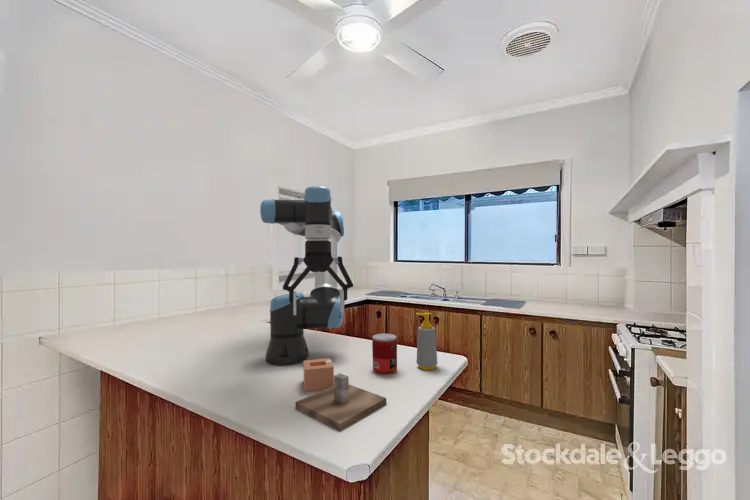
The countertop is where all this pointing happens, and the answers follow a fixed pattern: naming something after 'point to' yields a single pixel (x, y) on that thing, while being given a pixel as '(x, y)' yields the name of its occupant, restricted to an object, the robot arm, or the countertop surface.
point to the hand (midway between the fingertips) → (318, 313)
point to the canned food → (384, 353)
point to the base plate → (340, 403)
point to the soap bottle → (426, 345)
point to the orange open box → (318, 374)
